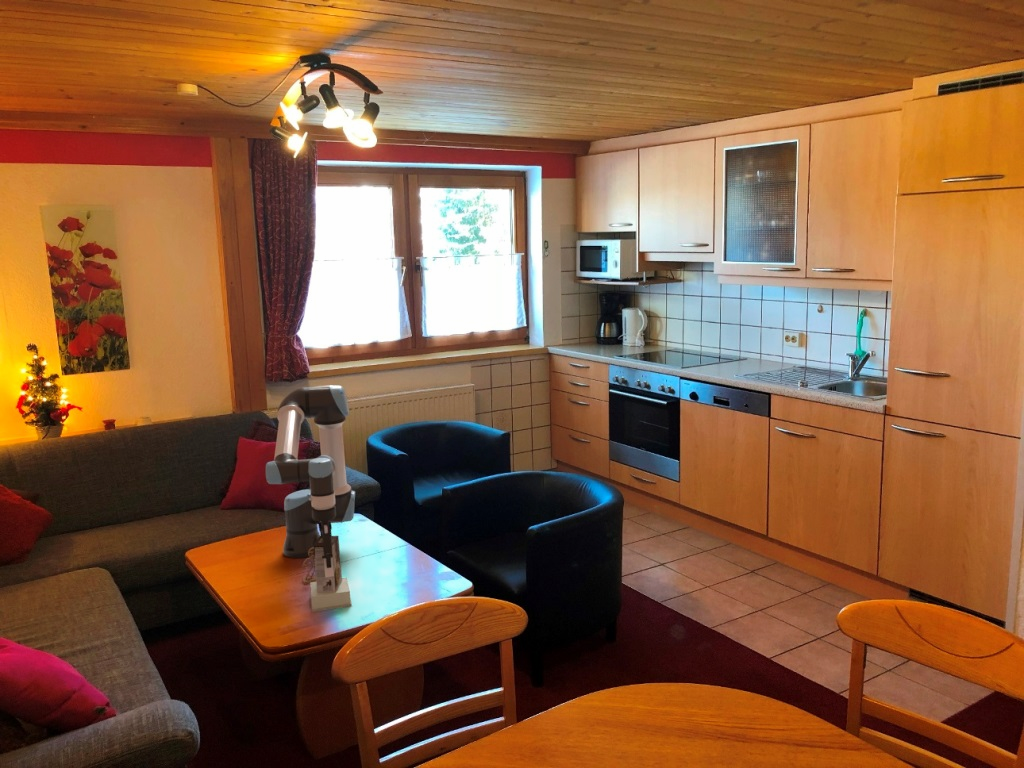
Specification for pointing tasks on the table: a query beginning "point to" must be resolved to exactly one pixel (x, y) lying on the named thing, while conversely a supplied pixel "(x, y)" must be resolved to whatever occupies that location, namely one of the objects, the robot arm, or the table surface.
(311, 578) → the gingerbread man figurine
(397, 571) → the table surface
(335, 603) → the pedestal
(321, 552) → the coffee box
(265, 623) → the table surface
